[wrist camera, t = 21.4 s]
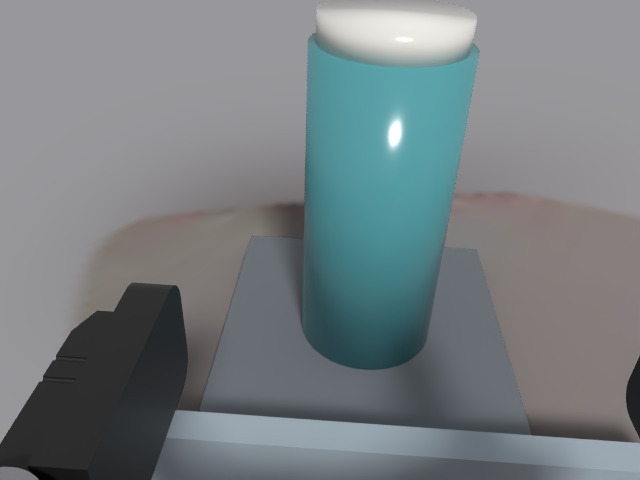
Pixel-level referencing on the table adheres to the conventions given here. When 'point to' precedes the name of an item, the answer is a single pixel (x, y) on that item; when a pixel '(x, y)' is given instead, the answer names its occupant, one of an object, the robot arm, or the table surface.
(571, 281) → the table surface
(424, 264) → the jar
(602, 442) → the wall
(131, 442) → the robot arm
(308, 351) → the mat
